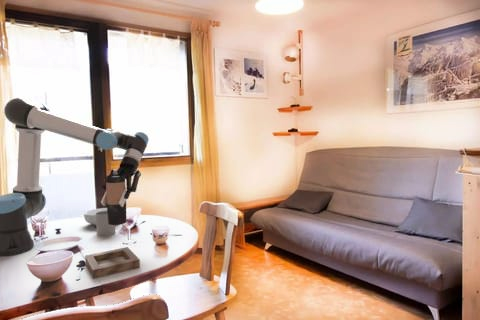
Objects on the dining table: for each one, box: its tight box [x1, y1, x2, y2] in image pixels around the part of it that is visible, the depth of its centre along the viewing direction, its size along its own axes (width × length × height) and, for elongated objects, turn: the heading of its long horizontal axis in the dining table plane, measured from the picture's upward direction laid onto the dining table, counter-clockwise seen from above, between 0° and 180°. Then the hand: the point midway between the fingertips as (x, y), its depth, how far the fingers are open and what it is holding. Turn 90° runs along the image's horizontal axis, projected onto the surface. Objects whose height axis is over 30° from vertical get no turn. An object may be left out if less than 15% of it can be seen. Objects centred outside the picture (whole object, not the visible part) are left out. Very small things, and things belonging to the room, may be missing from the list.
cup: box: [95, 211, 116, 236], centre depth 169 cm, size 8×8×10 cm
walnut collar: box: [84, 246, 141, 279], centre depth 129 cm, size 16×16×3 cm
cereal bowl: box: [83, 207, 107, 227], centre depth 184 cm, size 17×17×7 cm
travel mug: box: [105, 174, 127, 226], centre depth 144 cm, size 8×8×20 cm
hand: (111, 204), depth 141 cm, fingers closed on travel mug, 7 cm apart
